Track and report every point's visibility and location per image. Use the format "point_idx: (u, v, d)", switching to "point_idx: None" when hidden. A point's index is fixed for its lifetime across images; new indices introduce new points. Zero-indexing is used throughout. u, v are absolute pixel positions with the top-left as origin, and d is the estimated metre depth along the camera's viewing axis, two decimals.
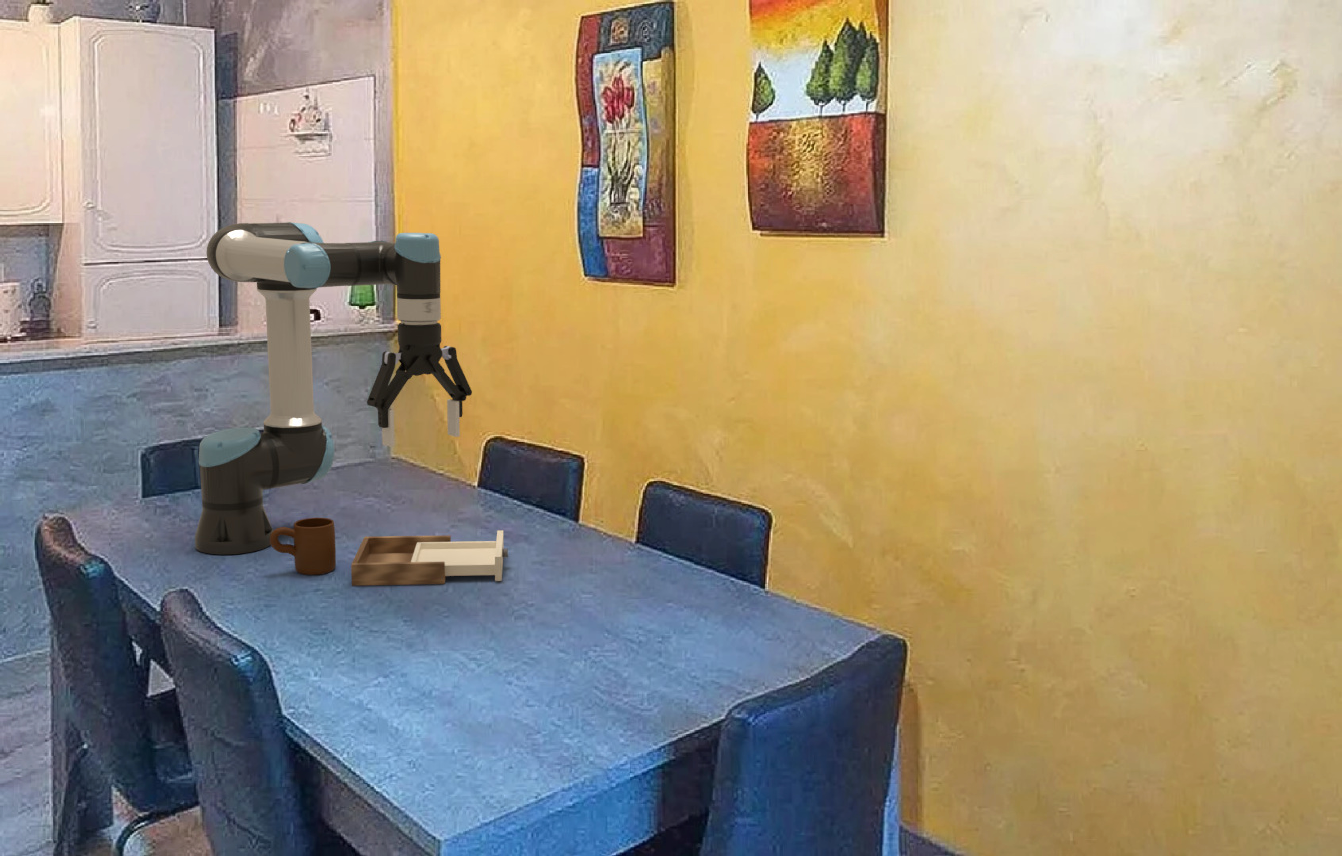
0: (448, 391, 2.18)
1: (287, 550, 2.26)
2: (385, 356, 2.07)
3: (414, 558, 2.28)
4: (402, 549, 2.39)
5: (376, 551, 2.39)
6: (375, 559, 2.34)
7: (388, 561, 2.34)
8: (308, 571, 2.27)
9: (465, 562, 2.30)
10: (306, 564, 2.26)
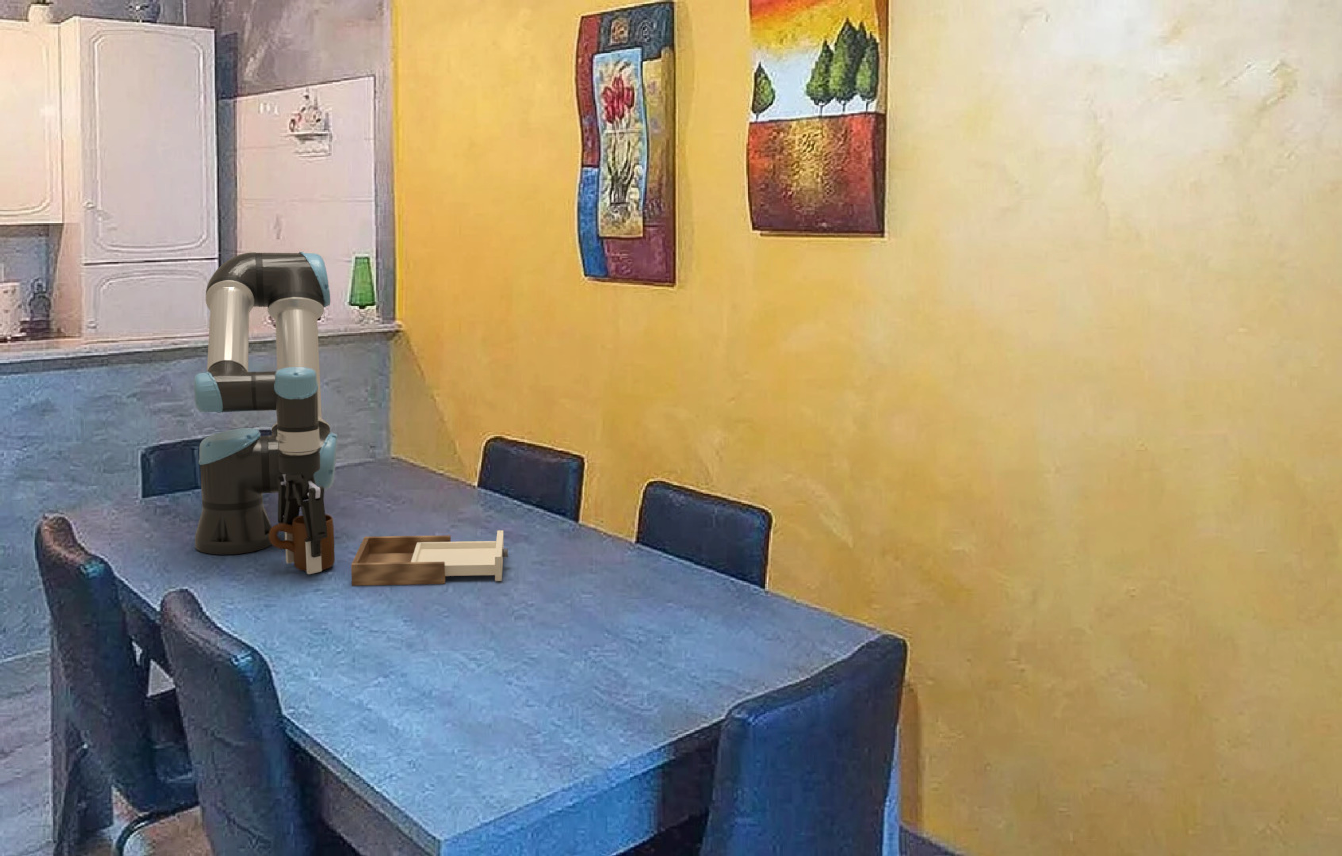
0: None
1: (286, 546, 2.27)
2: None
3: (414, 558, 2.28)
4: (402, 549, 2.39)
5: (376, 551, 2.39)
6: (375, 559, 2.34)
7: (388, 561, 2.34)
8: None
9: (465, 562, 2.30)
10: (305, 560, 2.27)
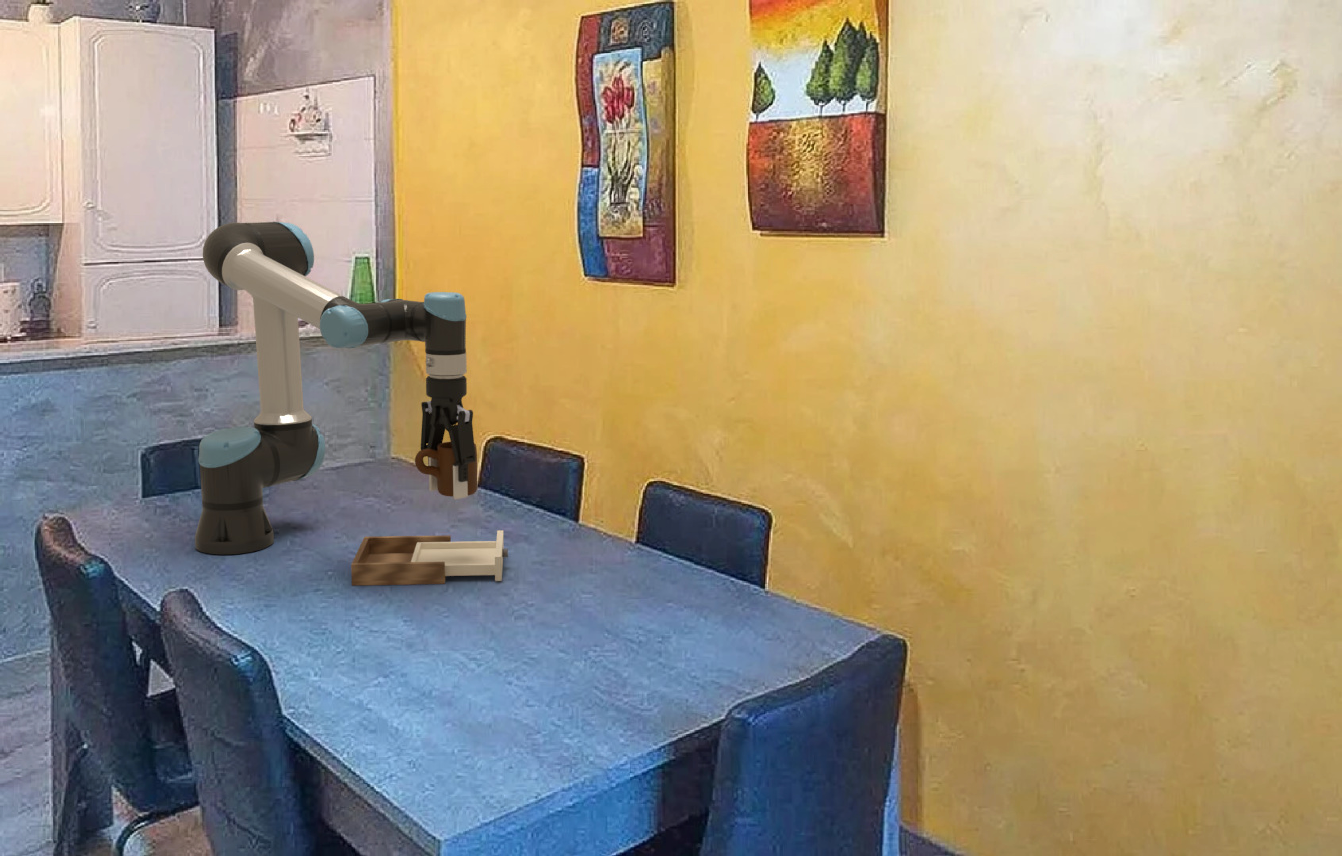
0: None
1: (432, 472, 2.27)
2: None
3: (414, 558, 2.28)
4: (402, 549, 2.39)
5: (376, 551, 2.39)
6: (375, 559, 2.34)
7: (388, 561, 2.34)
8: (452, 493, 2.27)
9: (465, 562, 2.30)
10: (451, 486, 2.27)
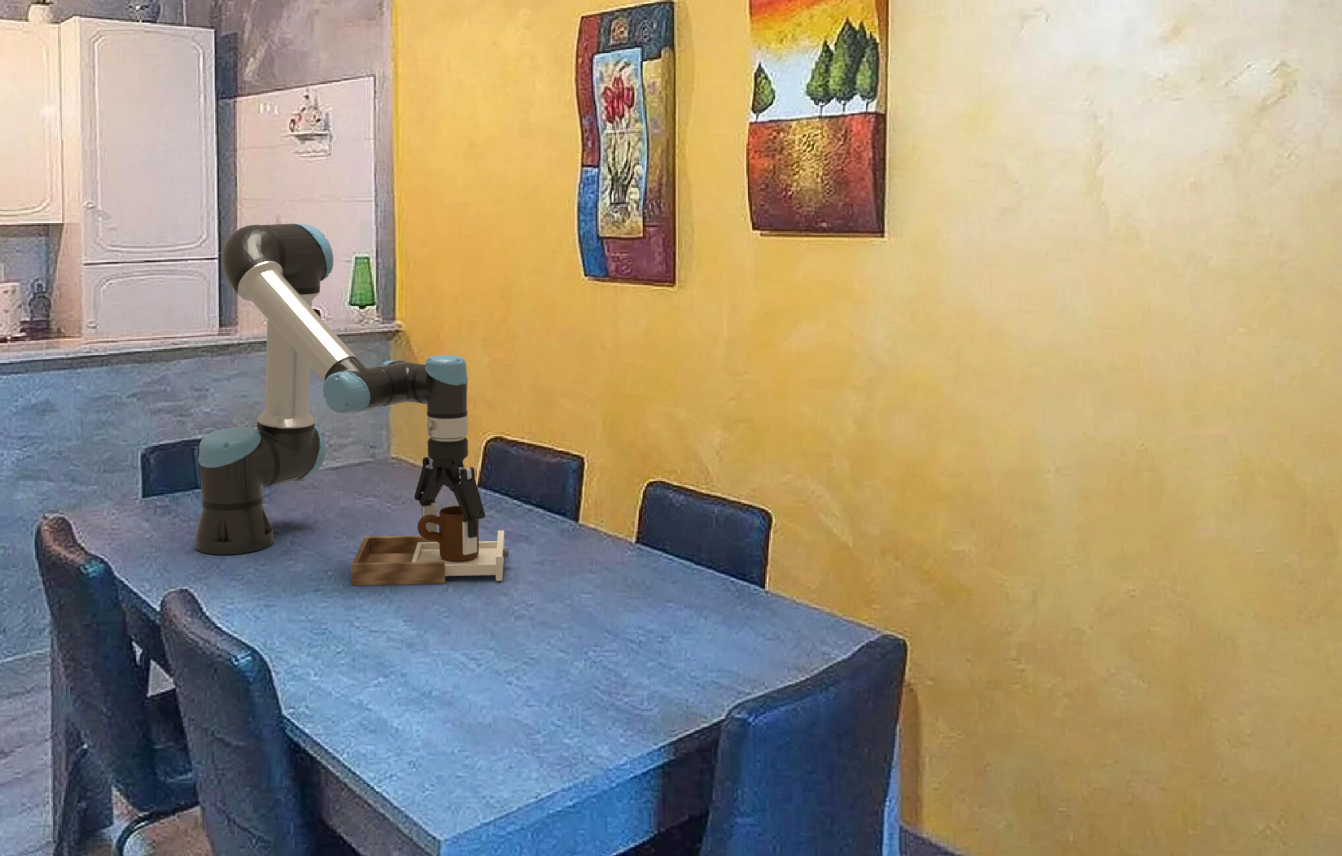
0: None
1: (434, 537, 2.30)
2: None
3: (415, 558, 2.28)
4: (402, 549, 2.39)
5: (376, 551, 2.39)
6: (375, 559, 2.34)
7: (388, 561, 2.34)
8: (455, 558, 2.30)
9: (466, 562, 2.30)
10: (453, 551, 2.30)
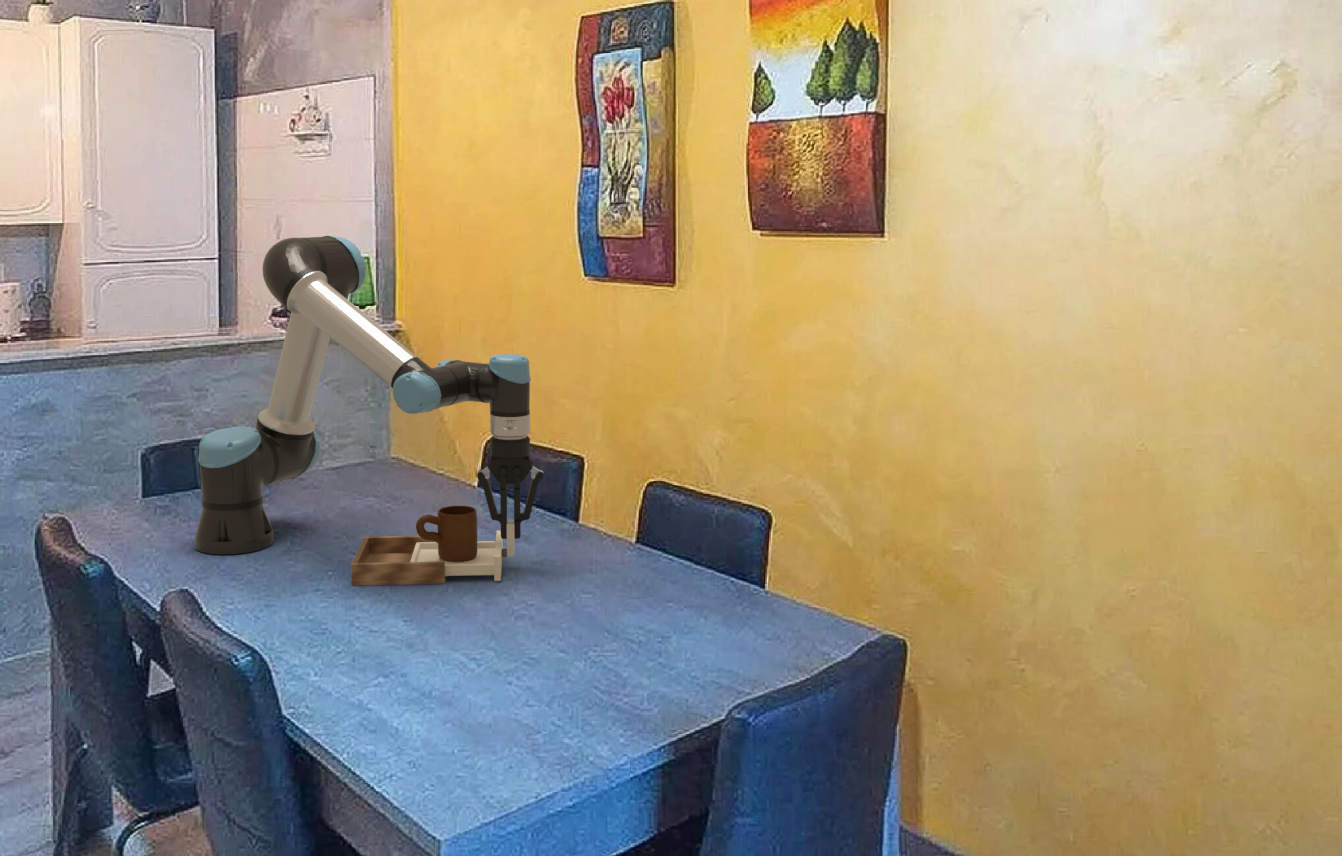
0: None
1: (432, 537, 2.30)
2: None
3: (413, 558, 2.28)
4: (402, 549, 2.39)
5: (376, 551, 2.39)
6: (375, 559, 2.34)
7: (388, 561, 2.34)
8: (453, 558, 2.30)
9: (464, 562, 2.30)
10: (452, 551, 2.30)
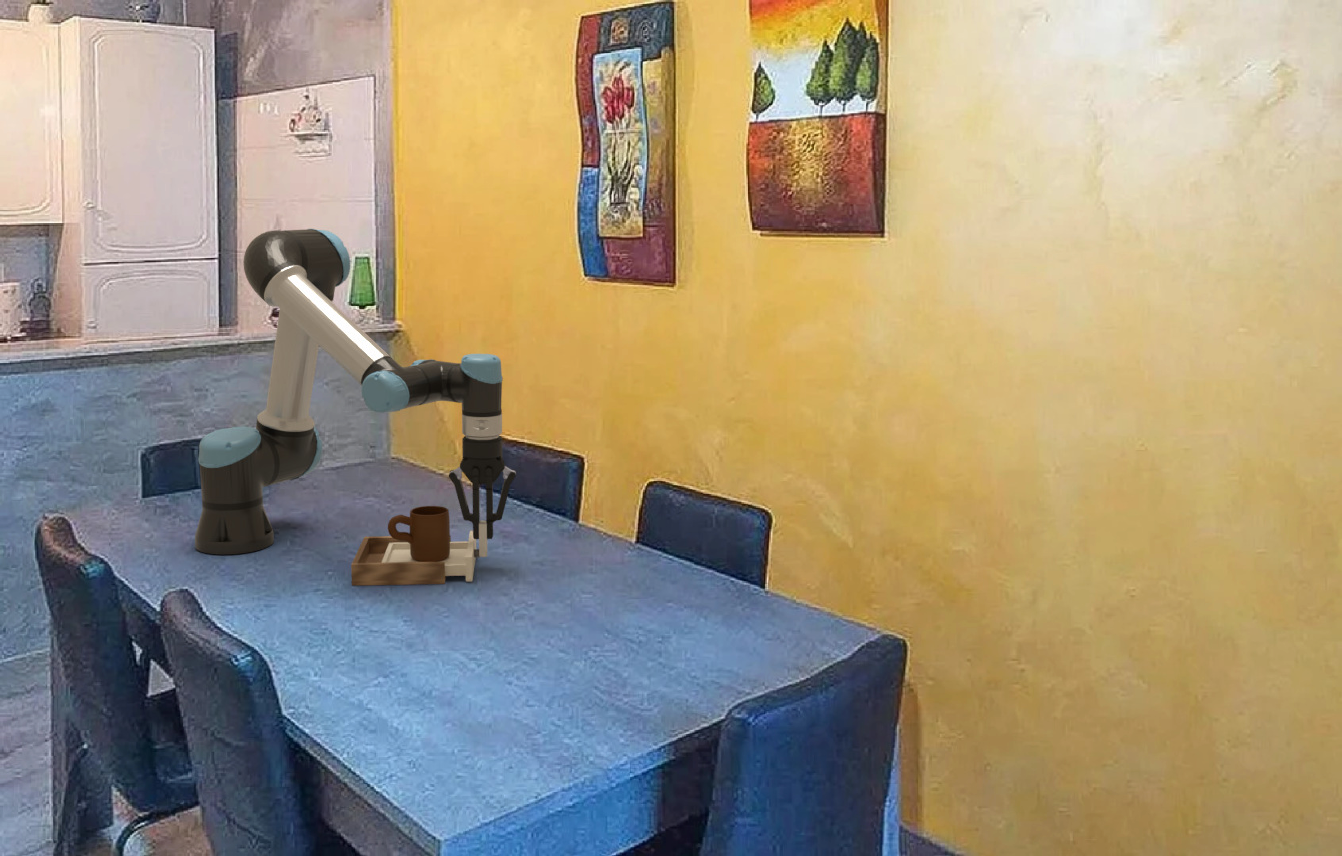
0: None
1: (404, 538, 2.29)
2: None
3: (385, 558, 2.28)
4: None
5: (376, 551, 2.39)
6: (375, 559, 2.34)
7: None
8: (425, 558, 2.29)
9: None
10: (424, 551, 2.29)
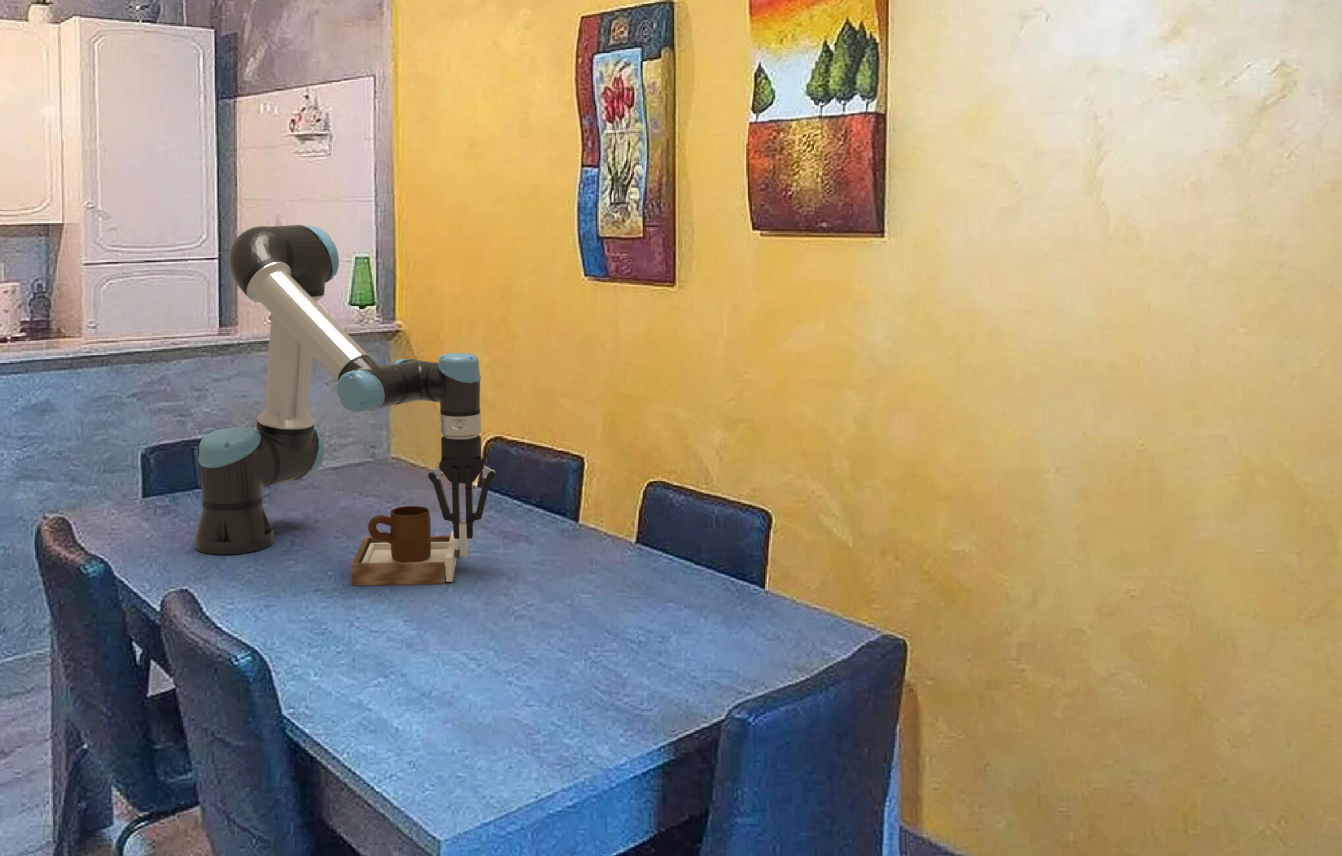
0: None
1: (385, 538, 2.29)
2: None
3: (365, 559, 2.27)
4: None
5: None
6: None
7: None
8: (406, 559, 2.29)
9: None
10: (404, 552, 2.29)
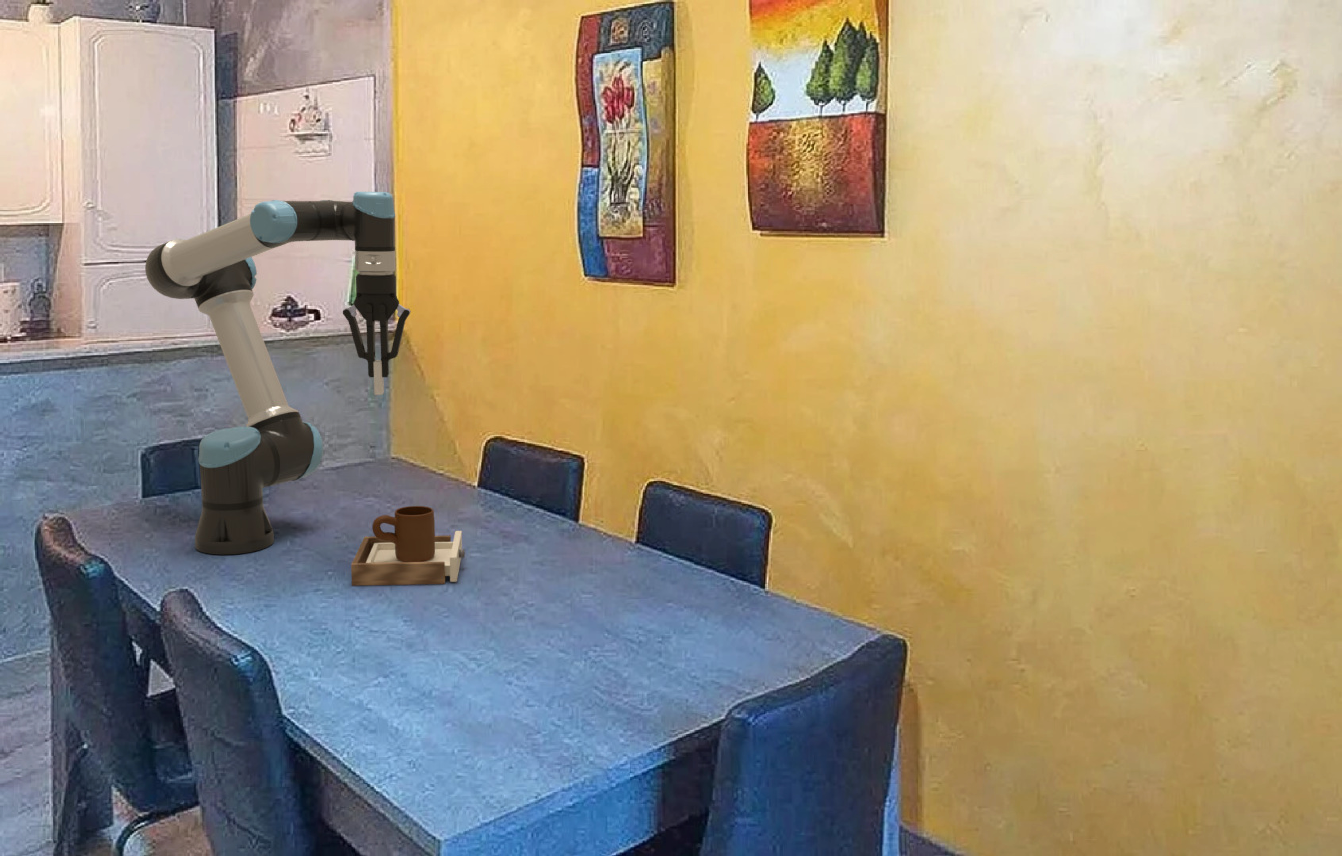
0: None
1: (389, 538, 2.29)
2: None
3: (369, 559, 2.27)
4: None
5: None
6: None
7: None
8: (410, 559, 2.29)
9: None
10: (408, 552, 2.29)
